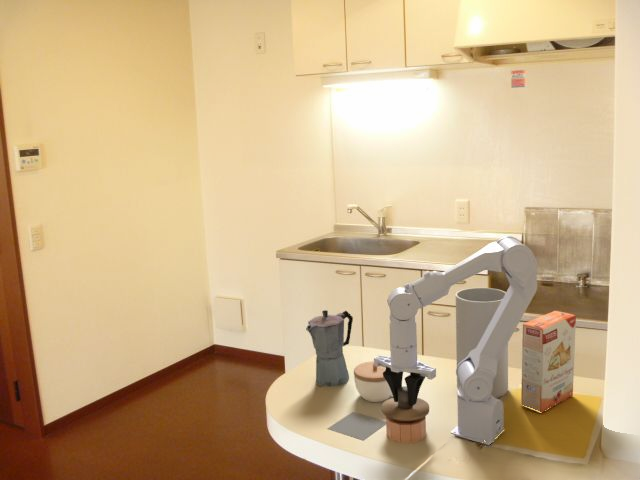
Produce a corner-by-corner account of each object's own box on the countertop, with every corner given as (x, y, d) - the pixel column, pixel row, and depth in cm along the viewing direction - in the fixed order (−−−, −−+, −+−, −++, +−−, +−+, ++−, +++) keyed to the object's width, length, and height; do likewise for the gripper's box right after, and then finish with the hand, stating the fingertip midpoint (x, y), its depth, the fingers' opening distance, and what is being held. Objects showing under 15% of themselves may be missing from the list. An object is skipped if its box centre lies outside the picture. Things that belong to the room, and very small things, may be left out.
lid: (438, 406, 148) (437, 386, 147) (413, 425, 140) (412, 404, 139) (398, 395, 154) (397, 376, 153) (372, 413, 146) (371, 392, 145)
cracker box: (542, 415, 153) (543, 328, 149) (520, 407, 158) (520, 323, 154) (575, 396, 162) (577, 314, 158) (552, 389, 167) (554, 308, 163)
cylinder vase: (476, 375, 177) (475, 284, 172) (517, 389, 168) (518, 293, 163) (446, 390, 169) (445, 295, 164) (488, 405, 160) (488, 305, 155)
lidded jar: (396, 408, 161) (394, 372, 159) (352, 407, 163) (350, 371, 161) (399, 389, 171) (398, 355, 169) (358, 388, 173) (356, 354, 172)
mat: (388, 424, 153) (388, 422, 153) (363, 442, 146) (363, 440, 146) (353, 413, 160) (353, 411, 159) (327, 430, 152) (327, 428, 152)
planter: (433, 431, 149) (432, 413, 148) (413, 448, 142) (412, 428, 141) (400, 422, 154) (399, 403, 153) (379, 437, 148) (378, 418, 147)
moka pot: (299, 384, 178) (295, 312, 174) (341, 367, 188) (337, 299, 184) (324, 394, 171) (319, 320, 167) (365, 376, 181) (362, 305, 177)
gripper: (365, 343, 145) (367, 401, 148) (423, 356, 136) (425, 417, 139) (383, 333, 151) (385, 390, 153) (440, 345, 142) (441, 404, 144)
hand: (405, 402), depth 147 cm, fingers closed on lid, 3 cm apart
